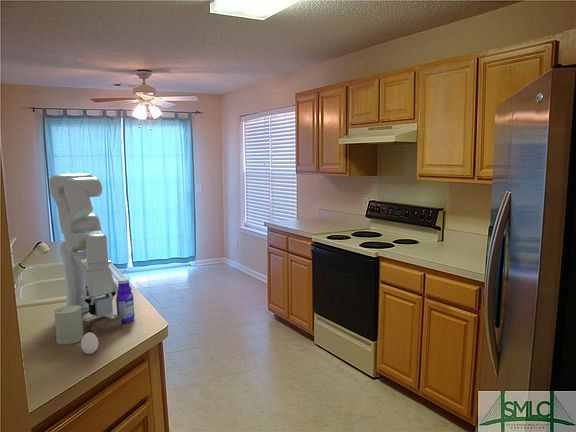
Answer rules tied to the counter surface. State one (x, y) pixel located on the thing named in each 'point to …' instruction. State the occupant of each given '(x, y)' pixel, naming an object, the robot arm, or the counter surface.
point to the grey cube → (103, 306)
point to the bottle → (125, 301)
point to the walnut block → (102, 324)
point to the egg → (89, 343)
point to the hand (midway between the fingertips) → (101, 311)
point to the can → (69, 324)
